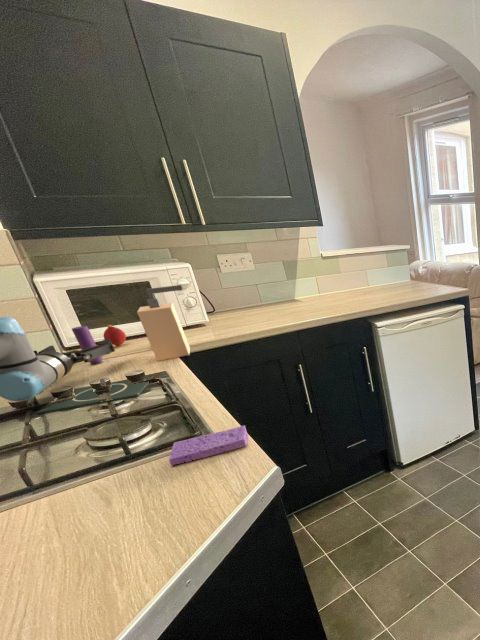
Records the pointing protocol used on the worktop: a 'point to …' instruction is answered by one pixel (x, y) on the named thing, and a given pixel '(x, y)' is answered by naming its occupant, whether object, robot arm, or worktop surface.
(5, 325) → the robot arm
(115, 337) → the red rounded lump
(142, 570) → the worktop surface
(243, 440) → the sponge
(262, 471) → the worktop surface
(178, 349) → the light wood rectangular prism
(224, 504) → the worktop surface
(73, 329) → the cylinder
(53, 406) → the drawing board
